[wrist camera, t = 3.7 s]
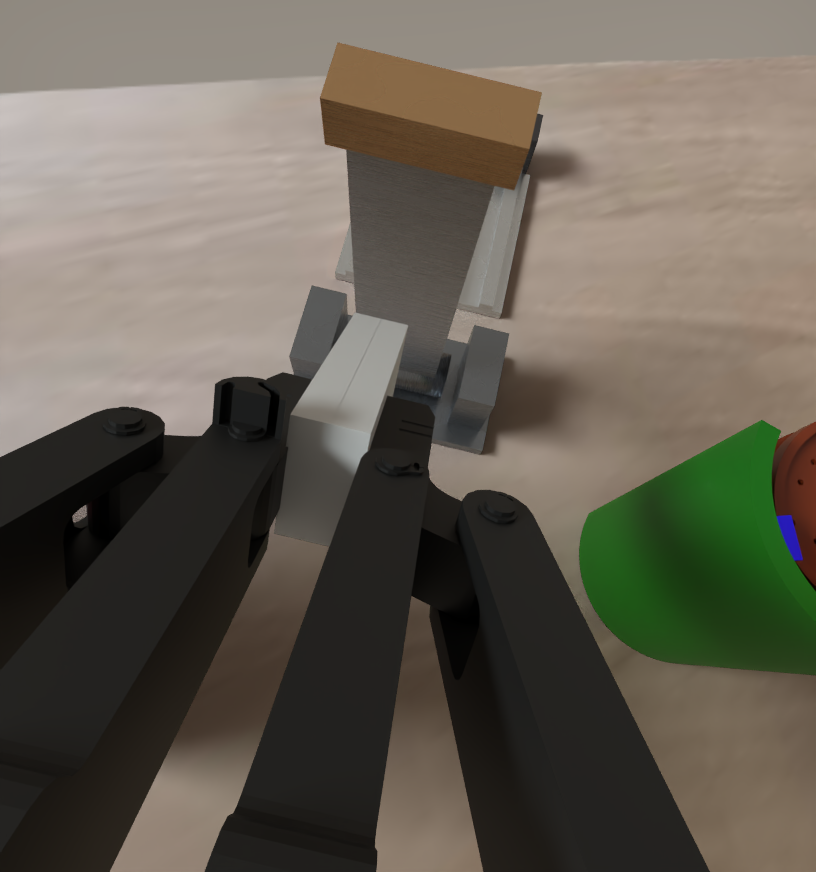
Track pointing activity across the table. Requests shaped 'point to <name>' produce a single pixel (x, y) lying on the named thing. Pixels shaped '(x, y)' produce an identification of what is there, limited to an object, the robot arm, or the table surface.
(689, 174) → the table surface
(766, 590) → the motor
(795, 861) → the table surface
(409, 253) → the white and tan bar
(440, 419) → the bracket
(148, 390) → the table surface
